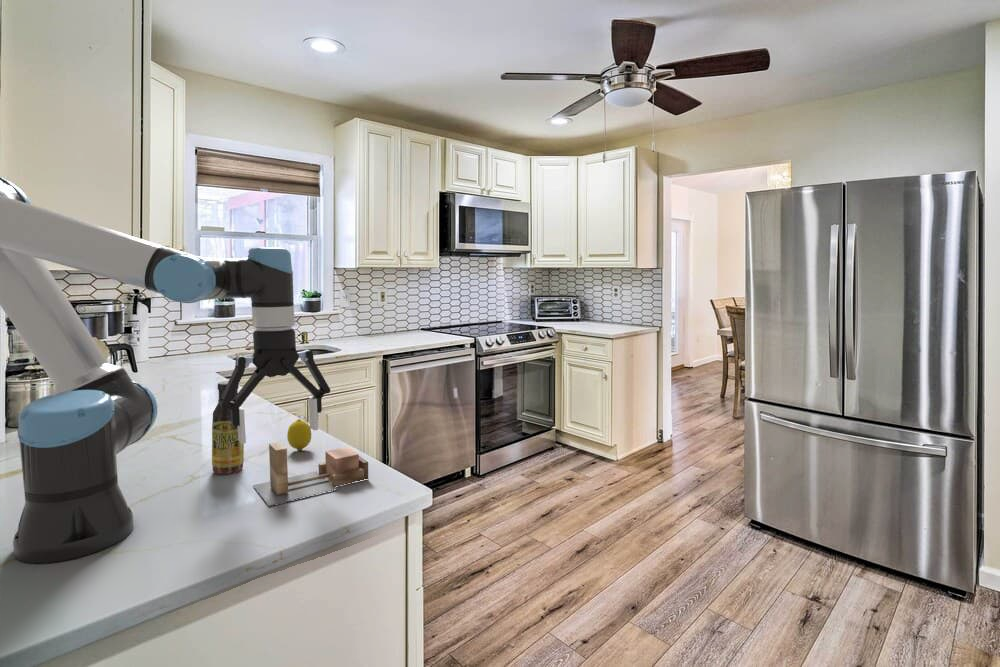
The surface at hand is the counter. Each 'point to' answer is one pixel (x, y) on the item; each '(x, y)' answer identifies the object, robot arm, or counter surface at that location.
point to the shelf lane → (312, 484)
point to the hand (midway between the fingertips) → (279, 435)
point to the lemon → (299, 434)
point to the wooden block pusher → (335, 464)
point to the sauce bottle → (225, 439)
